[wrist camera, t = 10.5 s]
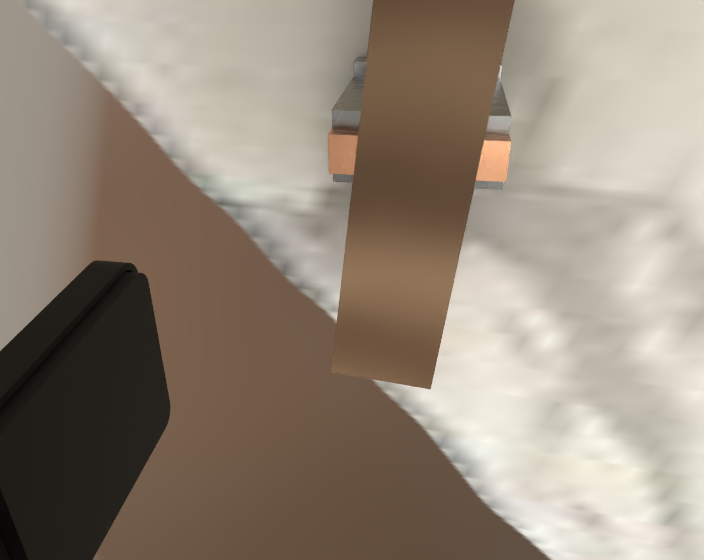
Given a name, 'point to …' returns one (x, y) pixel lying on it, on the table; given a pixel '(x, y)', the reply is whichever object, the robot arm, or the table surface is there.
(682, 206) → the table surface
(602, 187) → the table surface
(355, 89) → the ridge stand
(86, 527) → the robot arm
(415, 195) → the walnut rod
